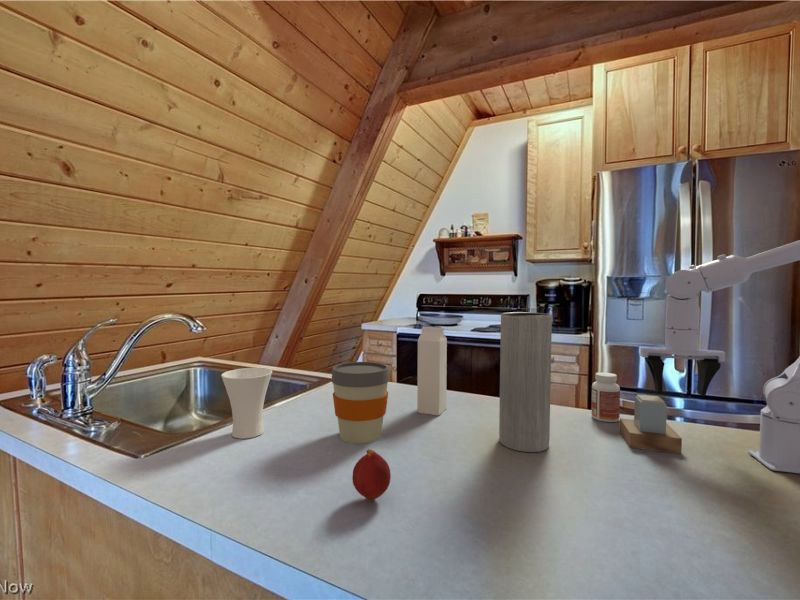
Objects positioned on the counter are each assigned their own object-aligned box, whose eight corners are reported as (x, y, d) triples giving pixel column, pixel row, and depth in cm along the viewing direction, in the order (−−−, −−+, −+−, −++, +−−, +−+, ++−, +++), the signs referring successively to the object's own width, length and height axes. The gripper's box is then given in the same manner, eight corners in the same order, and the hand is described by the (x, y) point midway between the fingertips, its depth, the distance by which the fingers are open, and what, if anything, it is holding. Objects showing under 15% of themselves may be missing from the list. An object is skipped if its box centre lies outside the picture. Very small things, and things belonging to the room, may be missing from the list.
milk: (425, 406, 106) (425, 325, 105) (446, 409, 103) (447, 326, 103) (416, 412, 100) (417, 327, 100) (439, 416, 98) (440, 328, 97)
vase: (531, 457, 75) (534, 316, 73) (489, 441, 82) (491, 313, 81) (558, 444, 81) (561, 314, 80) (516, 430, 89) (518, 311, 88)
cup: (274, 438, 83) (273, 376, 83) (220, 446, 79) (219, 380, 79) (271, 422, 93) (270, 366, 93) (223, 428, 89) (222, 369, 89)
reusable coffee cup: (321, 443, 81) (321, 371, 80) (344, 422, 93) (344, 360, 92) (379, 449, 78) (380, 375, 77) (395, 427, 90) (395, 363, 89)
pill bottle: (624, 419, 96) (625, 375, 95) (611, 424, 92) (612, 378, 92) (599, 412, 101) (600, 370, 100) (586, 417, 97) (587, 373, 97)
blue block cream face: (658, 426, 83) (659, 395, 83) (665, 433, 79) (666, 402, 79) (634, 423, 85) (634, 393, 84) (639, 431, 80) (640, 399, 80)
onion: (371, 486, 64) (371, 438, 64) (398, 498, 60) (398, 447, 60) (344, 501, 60) (344, 449, 59) (372, 515, 56) (372, 460, 56)
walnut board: (665, 436, 85) (666, 422, 85) (681, 453, 77) (681, 438, 77) (619, 431, 88) (619, 418, 88) (629, 447, 80) (629, 432, 79)
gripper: (714, 327, 83) (712, 391, 84) (637, 325, 87) (635, 385, 88) (731, 331, 76) (728, 400, 77) (646, 328, 81) (644, 393, 81)
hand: (679, 393), depth 82 cm, fingers open, 7 cm apart
